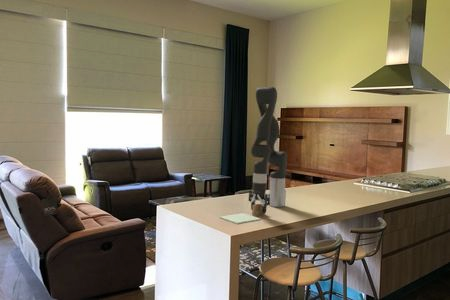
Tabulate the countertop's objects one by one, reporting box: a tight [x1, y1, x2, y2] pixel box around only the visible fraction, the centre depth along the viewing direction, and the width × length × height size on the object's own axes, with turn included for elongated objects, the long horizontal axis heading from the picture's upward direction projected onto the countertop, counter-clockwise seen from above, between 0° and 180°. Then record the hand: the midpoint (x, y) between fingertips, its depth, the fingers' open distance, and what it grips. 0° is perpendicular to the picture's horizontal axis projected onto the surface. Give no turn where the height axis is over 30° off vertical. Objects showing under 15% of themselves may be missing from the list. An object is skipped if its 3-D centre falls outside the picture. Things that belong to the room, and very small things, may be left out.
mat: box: [219, 212, 262, 225], centre depth 197 cm, size 16×14×1 cm
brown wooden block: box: [251, 203, 266, 217], centre depth 207 cm, size 8×2×6 cm, turn 128°
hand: (258, 211), depth 207 cm, fingers open, 8 cm apart
